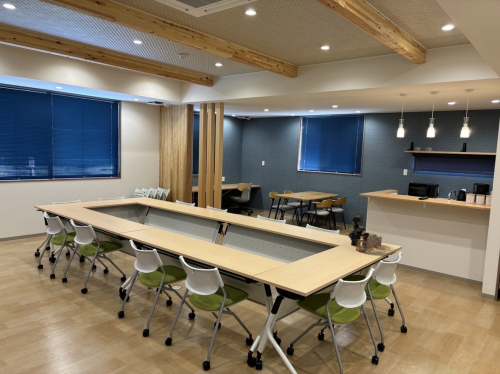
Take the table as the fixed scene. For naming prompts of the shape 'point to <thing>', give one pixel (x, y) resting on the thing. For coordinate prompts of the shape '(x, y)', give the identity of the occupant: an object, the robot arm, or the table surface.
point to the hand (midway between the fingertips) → (361, 243)
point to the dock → (368, 248)
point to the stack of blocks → (373, 240)
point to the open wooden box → (360, 244)
